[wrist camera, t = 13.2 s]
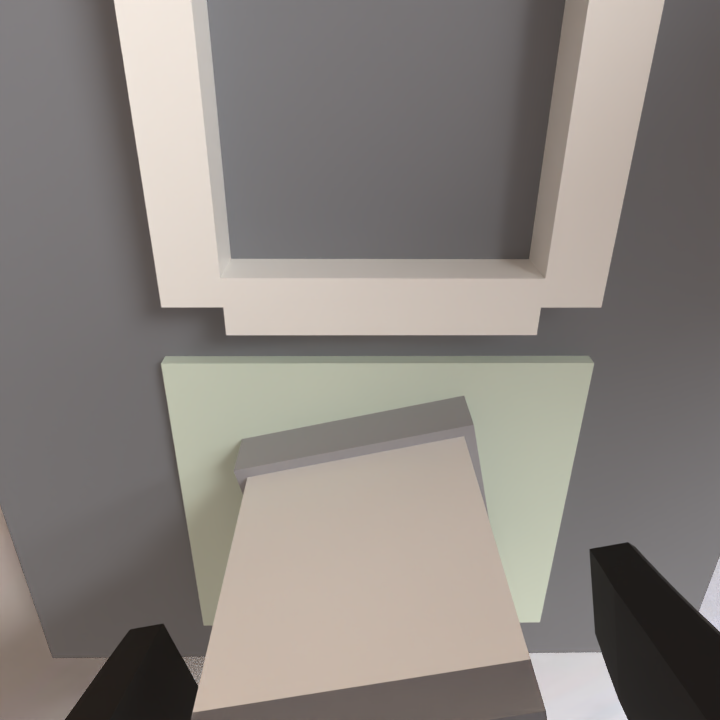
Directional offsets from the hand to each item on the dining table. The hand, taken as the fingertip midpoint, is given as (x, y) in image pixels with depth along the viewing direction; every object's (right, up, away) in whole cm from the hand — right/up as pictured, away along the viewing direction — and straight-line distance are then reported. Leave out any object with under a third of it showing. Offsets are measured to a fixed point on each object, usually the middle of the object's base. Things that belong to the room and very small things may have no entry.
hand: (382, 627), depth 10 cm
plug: (0, +1, +2) cm, 3 cm away
